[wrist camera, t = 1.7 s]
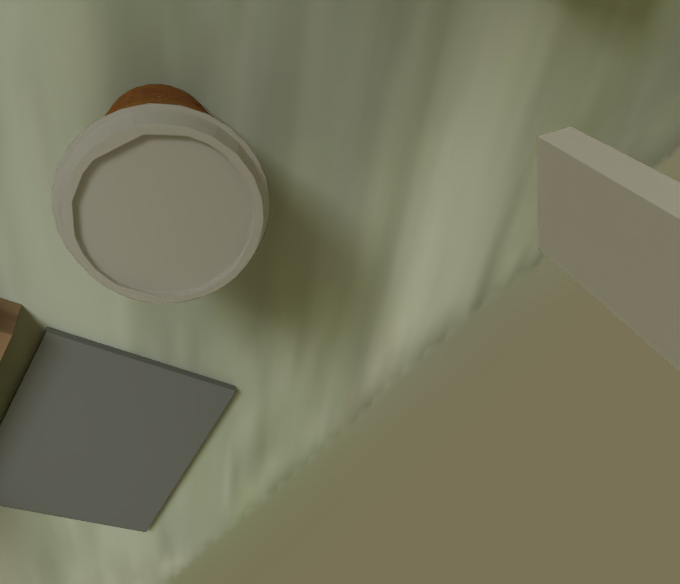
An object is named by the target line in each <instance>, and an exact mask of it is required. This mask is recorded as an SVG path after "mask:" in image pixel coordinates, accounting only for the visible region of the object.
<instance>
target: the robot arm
mask: <svg viewBox="0 0 680 584" xmlns="http://www.w3.org/2000/svg"><path fill="white" fill-rule="evenodd" d="M537 138H538V222H539V250H540V251H541V252H542V253H544V254H545V255H546V256H547V257H548V258H549V259H551V260H552V261H553V262H554V263H555V264H556V265H558V266H559V267H560V268H561V269H562V270H563V271H564V272H566V273H567V274H568V275H569V276H570V277H571V278H572V279H574V280H575V281H576V282H577V283H578V284H579V285H581V286H582V287H583V288H584V289H585V290H586V291H588V292H589V293H590V294H591V295H592V296H593V297H594V298H596V299H597V300H598V301H599V302H600V303H601V304H603V305H604V306H605V307H606V308H607V309H608V310H609V311H611V312H612V313H613V314H614V315H615V316H616V317H617V318H619V319H620V320H621V321H622V322H623V323H625V324H626V325H627V326H628V327H629V328H630V329H631V330H632V331H634V332H635V333H636V334H637V335H638V336H640V337H641V338H642V339H643V340H644V341H645V342H646V343H648V344H649V345H650V346H651V347H652V348H653V349H654V350H656V351H657V352H658V353H659V354H660V355H661V356H663V357H664V358H665V359H666V360H667V361H668V362H669V363H671V364H672V365H673V366H674V367H675V368H676V369H677V370H679V371H680V183H679V182H678V181H676V180H674V179H672V178H670V177H668V176H666V175H664V174H662V173H660V172H658V171H656V170H654V169H653V168H651V167H649V166H647V165H645V164H643V163H641V162H639V161H637V160H635V159H633V158H631V157H629V156H627V155H625V154H623V153H622V152H620V151H618V150H616V149H614V148H612V147H610V146H608V145H606V144H604V143H602V142H600V141H598V140H596V139H594V138H592V137H591V136H589V135H587V134H585V133H583V132H581V131H579V130H577V129H575V128H573V127H567V128H564V129H560V130H557V131H554V132H550V133H547V134H543V135H540V136H537Z"/></svg>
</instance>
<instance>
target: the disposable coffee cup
mask: <svg viewBox="0 0 680 584" xmlns="http://www.w3.org/2000/svg"><path fill="white" fill-rule="evenodd" d="M269 205H270V199H269V193H268V187H267V181H266V177H265V175H264V172H263V170H262V168H261V166H260V163H259V161H258V159H257V158H256V156H255V154H254V153H253V151H252V150H251V148H250V147H249V146H248V144H247V143H246V142H245V141H244V140H243V139H242V138H241V137H240V136H239V135H238V134H237V133H236V132H235V131H233V130H232V129H231V128H230V127H228V126H227V125H226V124H224V123H223V122H221V121H219V120H217V119H216V118H214V117H212V116H211V115H209V113H208V112H207V111H206V110H205V109H204V108H203V107H202V106H201V104H200V103H199V102H197V101H196V100H195V99H194V98H193V97H192V96H191V95H189V94H188V93H186V92H185V91H183V90H180V89H178V88H175V87H172V86H168V85H163V84H148V85H144V86H140V87H136V88H134V89H132V90H130V91H128V92H126V93H125V94H124V95H122V96H121V97H119V99H118V100H117V101H116V102H115V103H114V104H113V105H112V107H111V108H110V110H109V111H108V112H107V114H106V115H105V116H104V117H102V118H101V119H99V120H98V121H96V122H94V123H93V124H91V125H90V126H88V127H87V128H86V129H85V130H84V131H83V132H82V133H81V134H80V135H79V136H78V137H77V138H76V139H75V140H74V141H73V143H72V144H71V145H70V146H69V148H68V149H67V151H66V153H65V155H64V156H63V158H62V160H61V162H60V164H59V166H58V168H57V172H56V176H55V181H54V185H53V207H52V208H53V213H54V217H55V221H56V225H57V229H58V232H59V234H60V236H61V238H62V240H63V242H64V244H65V246H66V248H67V249H68V250H69V252H70V253H71V254H72V255H73V257H74V258H75V259H76V261H77V262H78V263H79V264H80V265H81V266H82V267H83V268H84V269H85V270H86V271H87V272H88V273H89V274H90V275H91V276H92V277H93V278H95V279H96V280H97V281H98V282H100V283H101V284H102V285H103V286H105V287H107V288H109V289H111V290H113V291H114V292H116V293H118V294H120V295H123V296H126V297H129V298H131V299H135V300H140V301H144V302H150V303H162V304H164V303H180V302H185V301H189V300H193V299H196V298H200V297H203V296H206V295H209V294H211V293H213V292H214V291H216V290H218V289H220V288H222V287H223V286H225V285H226V284H227V283H229V282H230V281H231V280H233V279H234V278H235V277H236V276H237V275H238V274H239V273H240V272H241V271H242V269H243V268H244V267H245V266H246V265H247V264H248V262H249V261H250V259H251V258H252V256H253V254H254V253H255V252H256V250H257V249H258V247H259V245H260V242H261V240H262V238H263V236H264V234H265V230H266V226H267V223H268V218H269Z"/></svg>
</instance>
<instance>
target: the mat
mask: <svg viewBox="0 0 680 584" xmlns="http://www.w3.org/2000/svg"><path fill="white" fill-rule="evenodd" d="M235 392H236V389H235V386H233V385H230V384H227V383H223V382H220V381H217V380H214V379H211V378H208V377H204V376H201V375H198V374H195V373H192V372H189V371H185V370H182V369H179V368H176V367H173V366H170V365H166V364H163V363H160V362H157V361H154V360H151V359H147V358H144V357H141V356H138V355H135V354H132V353H128V352H125V351H122V350H119V349H116V348H113V347H109V346H106V345H103V344H100V343H97V342H94V341H90V340H87V339H84V338H81V337H78V336H75V335H71V334H68V333H65V332H62V331H59V330H56V329H52V328H49V327H47V329H46V331H45V333H44V335H43V337H42V339H41V341H40V343H39V345H38V347H37V349H36V351H35V353H34V355H33V358H32V360H31V362H30V364H29V366H28V368H27V370H26V372H25V374H24V376H23V378H22V380H21V382H20V384H19V386H18V388H17V390H16V392H15V394H14V396H13V398H12V400H11V402H10V404H9V406H8V409H7V411H6V413H5V415H4V417H3V419H2V421H1V423H0V506H4V507H10V508H15V509H21V510H26V511H32V512H37V513H43V514H48V515H54V516H59V517H65V518H70V519H76V520H81V521H87V522H93V523H98V524H104V525H109V526H115V527H120V528H126V529H131V530H137V531H142V532H146V531H147V530H148V528H149V526H150V525H151V523H152V522H153V520H154V519H155V517H156V515H157V514H158V512H159V511H160V509H161V508H162V506H163V504H164V503H165V501H166V500H167V498H168V497H169V495H170V494H171V492H172V490H173V489H174V487H175V486H176V484H177V483H178V481H179V479H180V478H181V476H182V475H183V473H184V472H185V470H186V469H187V467H188V465H189V464H190V462H191V461H192V459H193V458H194V456H195V454H196V453H197V451H198V450H199V448H200V447H201V445H202V443H203V442H204V440H205V439H206V437H207V436H208V434H209V433H210V431H211V429H212V428H213V426H214V425H215V423H216V422H217V420H218V418H219V417H220V415H221V414H222V412H223V411H224V409H225V408H226V406H227V404H228V403H229V401H230V400H231V398H232V397H233V395H234V393H235Z"/></svg>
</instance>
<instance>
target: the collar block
mask: <svg viewBox="0 0 680 584" xmlns="http://www.w3.org/2000/svg"><path fill="white" fill-rule="evenodd" d="M20 308H21V305H20V304H17V303H14V302H11V301H8V300H5V299H2V298H0V361H1V359H2V356H3V354H4V352H5V350H6V348H7V346H8V344H9V341H10V339H11V337H12V335H13V332H14V328H15V325H16V322H17V318H18V315H19V311H20Z"/></svg>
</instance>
